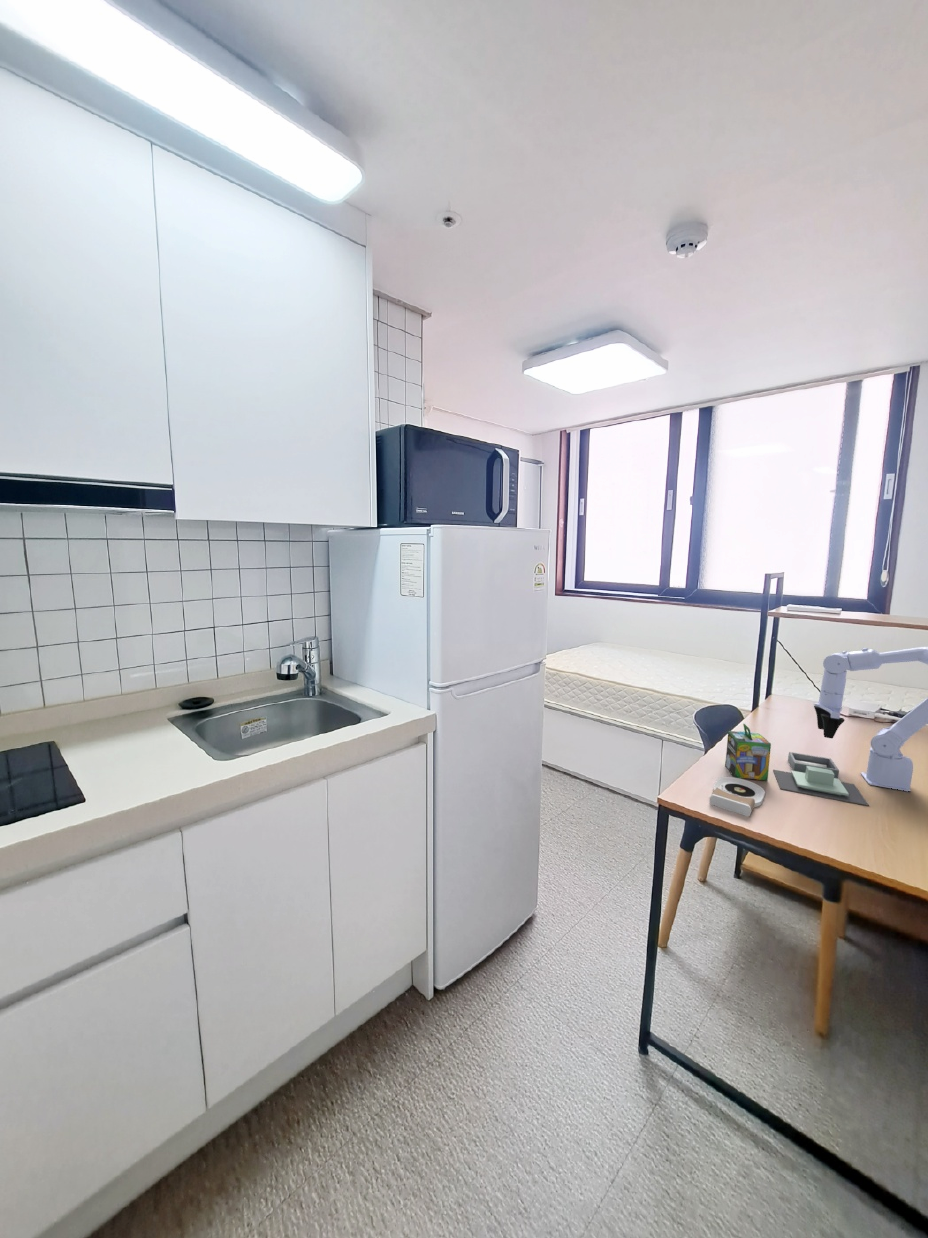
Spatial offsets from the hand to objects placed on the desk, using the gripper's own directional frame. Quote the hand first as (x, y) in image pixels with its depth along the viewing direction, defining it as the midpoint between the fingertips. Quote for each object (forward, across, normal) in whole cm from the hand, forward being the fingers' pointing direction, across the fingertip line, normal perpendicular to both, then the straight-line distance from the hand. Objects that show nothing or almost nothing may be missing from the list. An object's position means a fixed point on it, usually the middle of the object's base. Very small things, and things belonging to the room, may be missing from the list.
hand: (825, 733), depth 151 cm
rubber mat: (+10, +19, -4) cm, 22 cm away
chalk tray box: (+11, +6, -3) cm, 13 cm away
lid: (+10, +19, -4) cm, 22 cm away
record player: (+11, +35, -26) cm, 45 cm away
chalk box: (+11, +18, -22) cm, 31 cm away
